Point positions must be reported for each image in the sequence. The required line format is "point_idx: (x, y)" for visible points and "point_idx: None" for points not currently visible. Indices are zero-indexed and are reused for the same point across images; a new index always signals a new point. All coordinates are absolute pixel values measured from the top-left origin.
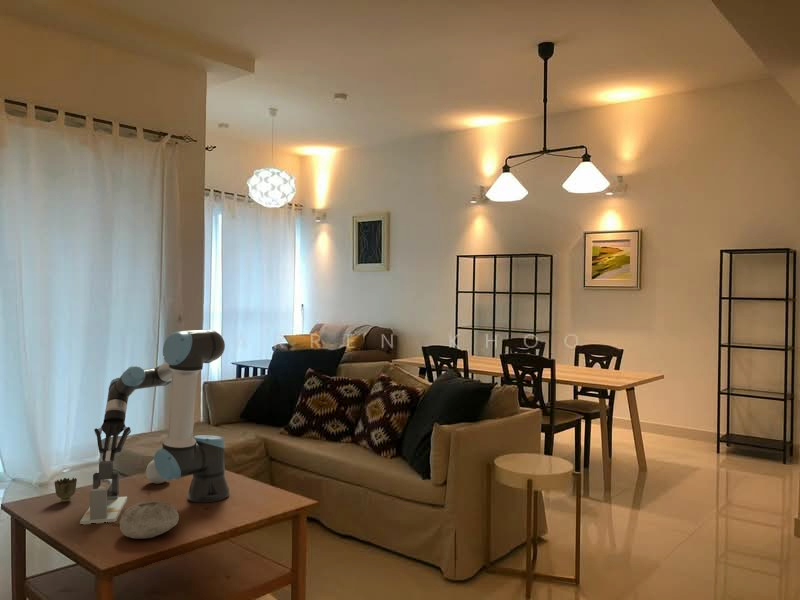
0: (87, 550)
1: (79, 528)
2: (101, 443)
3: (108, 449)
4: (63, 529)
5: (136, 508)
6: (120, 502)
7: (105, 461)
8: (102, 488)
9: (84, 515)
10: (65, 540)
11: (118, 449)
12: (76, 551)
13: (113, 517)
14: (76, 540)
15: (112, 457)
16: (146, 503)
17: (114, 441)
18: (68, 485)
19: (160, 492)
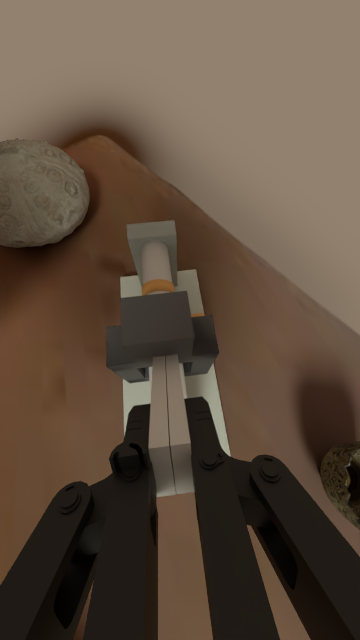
0: (138, 175)
1: (188, 256)
2: (314, 591)
3: (203, 560)
4: (219, 254)
5: (36, 145)
6: (134, 400)
7: (164, 334)
8: (141, 238)
9: (200, 303)
10: (190, 209)
11: (77, 489)
12: (154, 174)
13: (126, 283)
14: (170, 207)
15: (137, 414)
16: (15, 180)
17: (106, 635)
18: (350, 450)
19: (11, 563)
